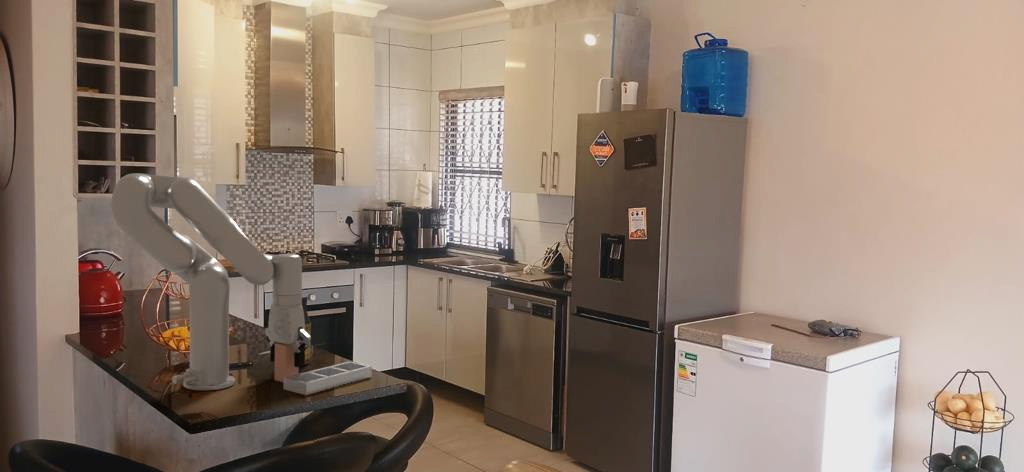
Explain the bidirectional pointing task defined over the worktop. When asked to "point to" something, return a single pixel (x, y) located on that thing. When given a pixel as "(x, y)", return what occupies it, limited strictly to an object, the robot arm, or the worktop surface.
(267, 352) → the chef's knife
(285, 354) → the square peg
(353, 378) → the hole rail
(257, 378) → the worktop surface
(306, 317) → the sauce bottle
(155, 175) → the robot arm
